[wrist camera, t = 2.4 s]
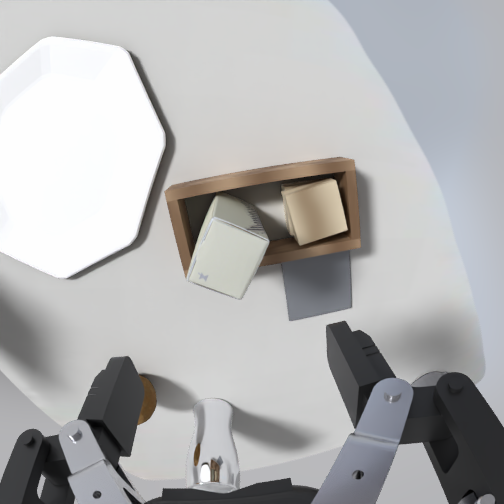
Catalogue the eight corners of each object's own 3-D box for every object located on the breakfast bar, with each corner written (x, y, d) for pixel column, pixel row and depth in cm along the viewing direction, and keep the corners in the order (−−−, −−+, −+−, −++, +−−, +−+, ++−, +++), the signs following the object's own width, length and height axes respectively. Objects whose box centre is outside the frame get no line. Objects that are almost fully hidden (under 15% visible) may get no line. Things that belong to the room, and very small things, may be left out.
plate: (9, 35, 23) (3, 33, 21) (199, 68, 28) (197, 65, 26) (-33, 229, 31) (-39, 232, 29) (124, 297, 36) (120, 303, 35)
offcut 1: (325, 177, 33) (332, 180, 30) (329, 221, 35) (336, 227, 32) (280, 183, 33) (284, 187, 30) (286, 228, 34) (290, 235, 32)
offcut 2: (328, 177, 30) (336, 180, 28) (339, 223, 32) (347, 229, 30) (280, 191, 30) (285, 196, 28) (294, 237, 32) (299, 245, 30)
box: (236, 246, 34) (241, 306, 22) (198, 231, 34) (182, 284, 21) (256, 202, 33) (273, 241, 21) (217, 186, 32) (211, 215, 20)
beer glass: (181, 409, 43) (172, 492, 29) (211, 389, 41) (210, 477, 27) (214, 429, 45) (215, 507, 31) (245, 410, 44) (253, 493, 30)
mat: (348, 248, 35) (349, 248, 35) (350, 306, 38) (351, 307, 38) (281, 260, 35) (281, 261, 35) (289, 319, 38) (289, 321, 38)
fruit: (131, 356, 39) (116, 397, 31) (168, 379, 40) (160, 422, 33) (112, 379, 40) (97, 418, 33) (147, 400, 42) (138, 440, 34)
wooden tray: (340, 157, 32) (354, 159, 28) (347, 235, 35) (360, 247, 31) (171, 185, 32) (164, 191, 28) (190, 264, 35) (186, 279, 31)
